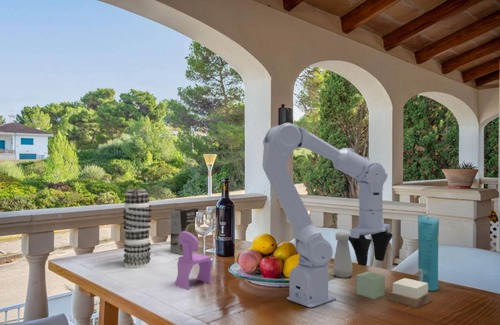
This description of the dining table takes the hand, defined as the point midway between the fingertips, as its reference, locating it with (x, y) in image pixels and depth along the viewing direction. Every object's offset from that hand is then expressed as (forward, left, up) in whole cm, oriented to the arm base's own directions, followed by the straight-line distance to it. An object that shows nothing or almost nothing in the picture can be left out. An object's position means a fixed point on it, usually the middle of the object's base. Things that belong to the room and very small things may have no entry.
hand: (371, 262), depth 105 cm
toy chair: (-30, +37, -8) cm, 48 cm away
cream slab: (+3, -9, -6) cm, 11 cm away
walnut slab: (+3, -9, -9) cm, 13 cm away
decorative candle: (-33, +67, -8) cm, 75 cm away
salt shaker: (+8, +15, -8) cm, 19 cm away
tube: (+16, -7, -8) cm, 19 cm away
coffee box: (-11, +74, -8) cm, 75 cm away
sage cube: (0, 0, -8) cm, 8 cm away
